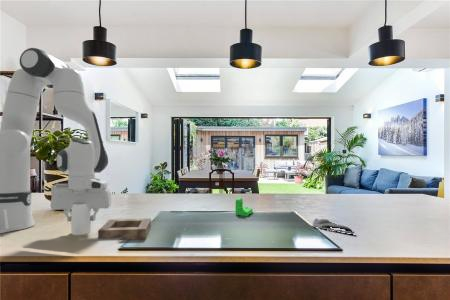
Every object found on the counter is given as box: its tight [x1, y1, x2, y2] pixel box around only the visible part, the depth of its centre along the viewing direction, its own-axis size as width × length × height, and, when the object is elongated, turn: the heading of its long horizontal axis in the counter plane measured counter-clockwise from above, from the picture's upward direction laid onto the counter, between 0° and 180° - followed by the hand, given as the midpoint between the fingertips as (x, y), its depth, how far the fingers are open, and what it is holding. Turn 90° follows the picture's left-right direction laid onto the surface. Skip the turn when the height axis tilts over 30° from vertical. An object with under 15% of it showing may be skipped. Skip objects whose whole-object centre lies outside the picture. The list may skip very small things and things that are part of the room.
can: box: [70, 203, 92, 236], centre depth 108 cm, size 6×6×12 cm
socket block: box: [97, 217, 152, 241], centre depth 110 cm, size 16×16×4 cm
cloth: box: [312, 217, 354, 234], centre depth 123 cm, size 26×14×2 cm, turn 3°
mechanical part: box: [235, 197, 253, 217], centre depth 147 cm, size 12×6×8 cm, turn 160°
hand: (81, 220), depth 108 cm, fingers closed on can, 6 cm apart
